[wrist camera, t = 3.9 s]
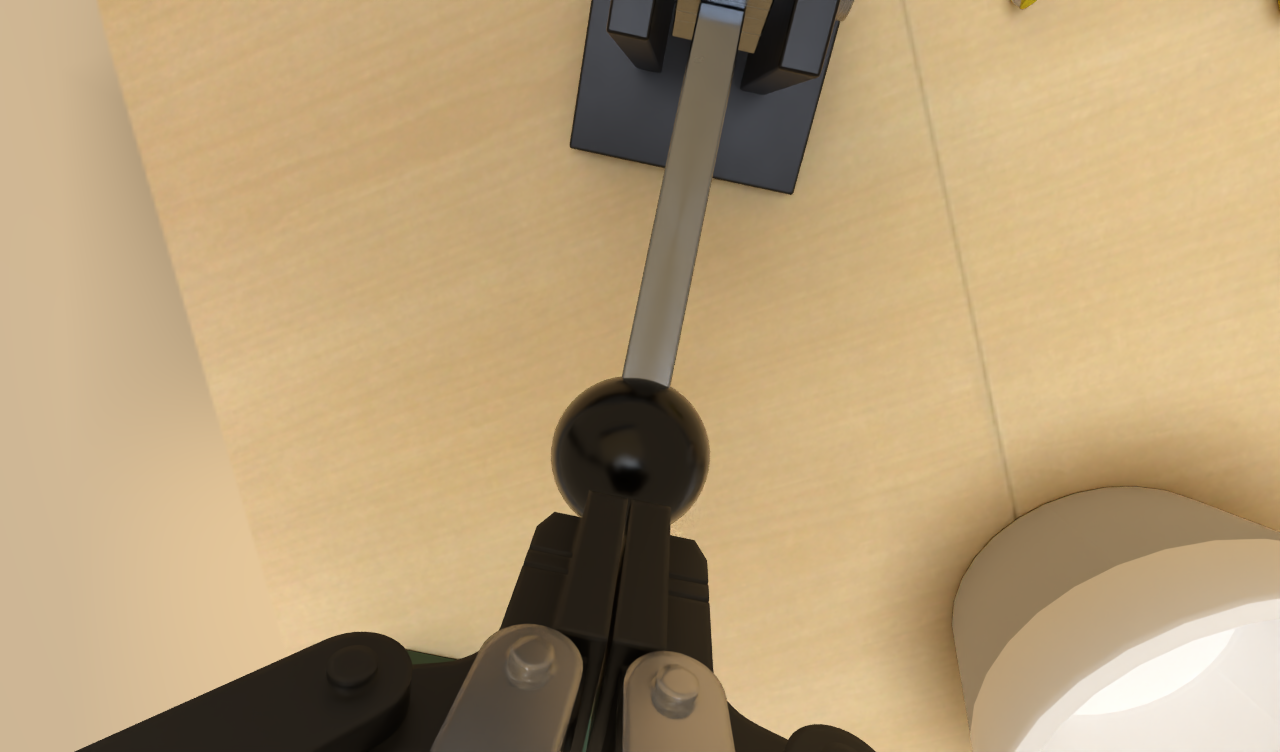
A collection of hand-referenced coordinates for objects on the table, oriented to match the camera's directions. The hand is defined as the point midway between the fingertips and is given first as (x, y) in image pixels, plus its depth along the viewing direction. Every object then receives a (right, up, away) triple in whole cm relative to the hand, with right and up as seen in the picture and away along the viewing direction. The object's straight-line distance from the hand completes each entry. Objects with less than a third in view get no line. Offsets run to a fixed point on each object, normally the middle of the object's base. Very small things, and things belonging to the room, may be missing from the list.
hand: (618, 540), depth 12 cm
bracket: (+3, +16, +13) cm, 21 cm away
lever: (+1, +7, +5) cm, 9 cm away
